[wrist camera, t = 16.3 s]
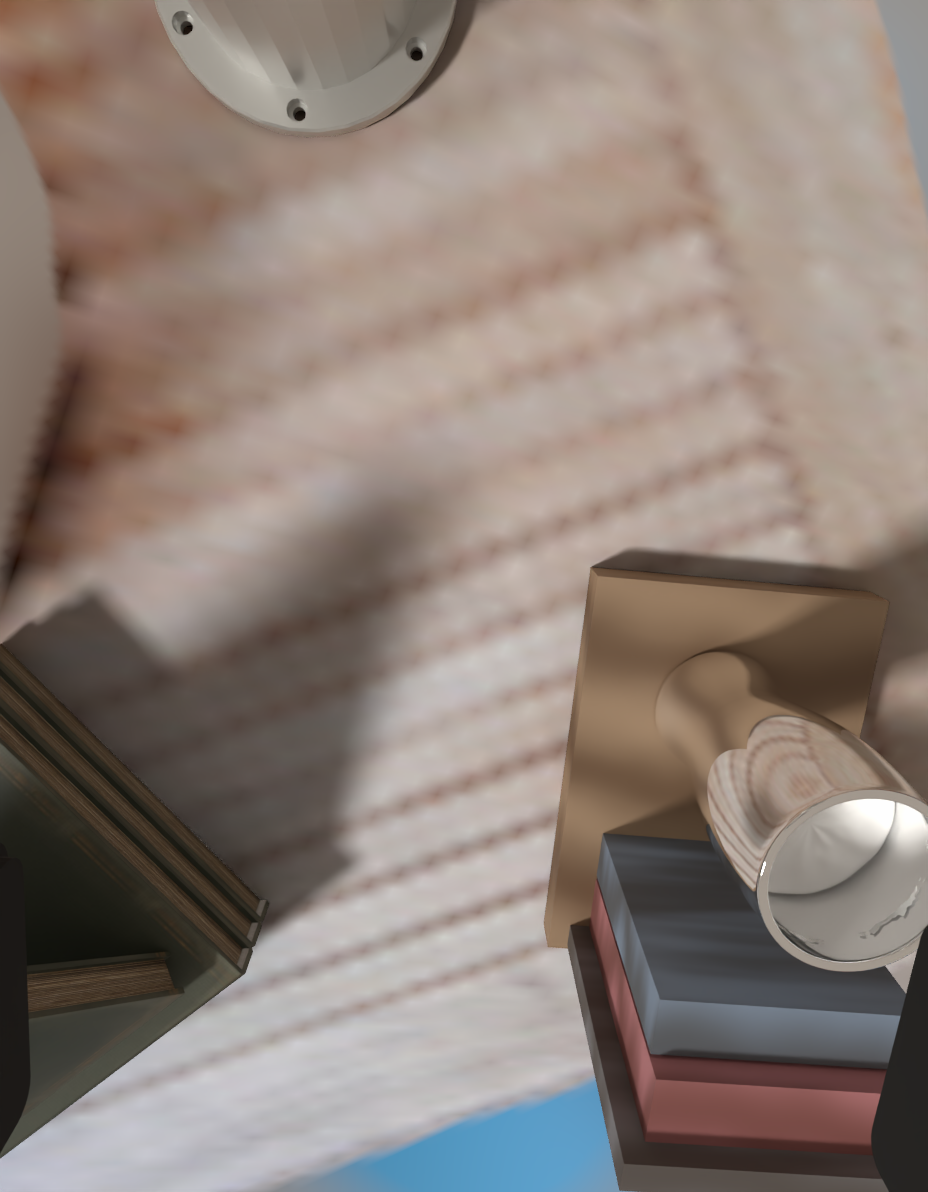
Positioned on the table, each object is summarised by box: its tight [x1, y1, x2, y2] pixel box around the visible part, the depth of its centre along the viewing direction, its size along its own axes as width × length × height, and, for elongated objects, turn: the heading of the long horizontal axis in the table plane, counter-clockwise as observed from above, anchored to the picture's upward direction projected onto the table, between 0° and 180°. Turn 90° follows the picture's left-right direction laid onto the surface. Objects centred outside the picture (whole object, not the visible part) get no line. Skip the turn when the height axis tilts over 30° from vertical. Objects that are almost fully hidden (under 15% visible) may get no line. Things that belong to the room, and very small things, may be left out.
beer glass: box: [655, 651, 928, 972], centre depth 34 cm, size 7×7×15 cm
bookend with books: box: [544, 567, 906, 1192], centre depth 37 cm, size 20×14×16 cm
